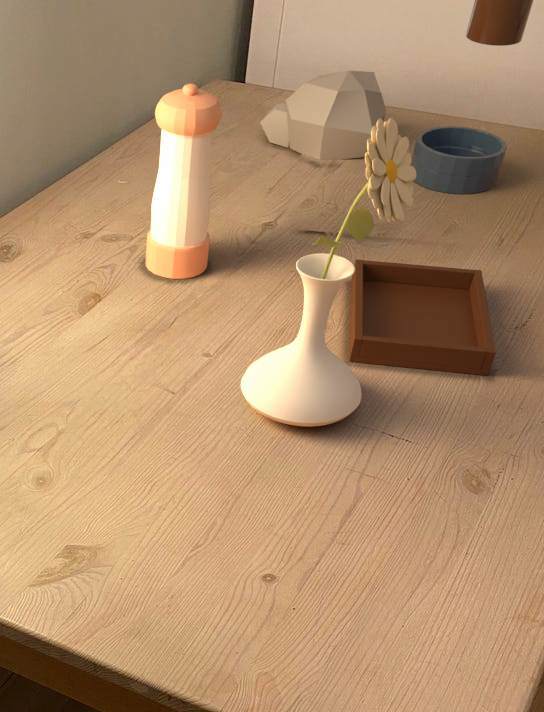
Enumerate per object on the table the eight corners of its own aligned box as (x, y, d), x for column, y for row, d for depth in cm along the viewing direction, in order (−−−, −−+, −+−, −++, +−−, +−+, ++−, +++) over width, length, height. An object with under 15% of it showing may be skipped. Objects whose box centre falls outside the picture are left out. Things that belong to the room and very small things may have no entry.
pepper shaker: (163, 284, 108) (176, 101, 94) (134, 257, 113) (143, 79, 99) (218, 271, 110) (239, 90, 96) (188, 245, 115) (203, 69, 101)
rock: (238, 141, 137) (247, 66, 130) (322, 107, 146) (334, 36, 139) (342, 177, 128) (357, 99, 121) (424, 138, 137) (443, 64, 130)
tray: (474, 292, 106) (481, 270, 104) (487, 375, 95) (496, 352, 93) (350, 281, 108) (355, 259, 106) (349, 361, 97) (354, 338, 95)
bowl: (490, 168, 130) (502, 129, 126) (497, 201, 122) (510, 161, 119) (406, 162, 131) (415, 123, 128) (408, 195, 124) (418, 155, 120)
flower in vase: (292, 452, 86) (351, 166, 68) (214, 394, 93) (249, 118, 74) (395, 408, 91) (476, 129, 72) (314, 355, 97) (370, 88, 79)
